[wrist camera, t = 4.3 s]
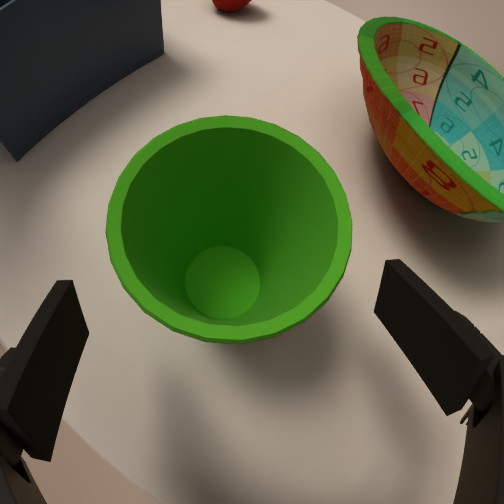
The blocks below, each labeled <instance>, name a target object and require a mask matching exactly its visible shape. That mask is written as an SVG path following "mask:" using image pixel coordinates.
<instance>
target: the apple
mask: <svg viewBox="0 0 504 504" xmlns="http://www.w3.org/2000/svg"><path fill="white" fill-rule="evenodd" d="M212 1H213V3H214V5H215V7H216V8H218V9H220V10H225V11H227V12H233V11H236V10H239V9H242V8H243V7H245V6H246V5H247V4H248V3H249V2H250V1H252V0H212Z"/></svg>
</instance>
